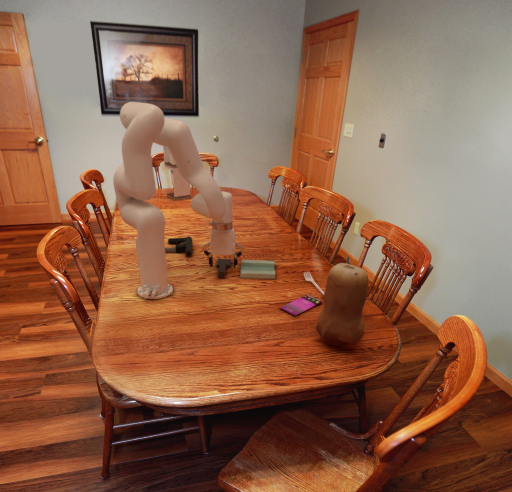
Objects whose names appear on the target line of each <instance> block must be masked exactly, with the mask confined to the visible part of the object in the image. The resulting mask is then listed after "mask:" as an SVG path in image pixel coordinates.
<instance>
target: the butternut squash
mask: <svg viewBox="0 0 512 492" xmlns="http://www.w3.org/2000/svg"><path fill="white" fill-rule="evenodd" d="M326 277H327V278H326V283H325V289H324V290H325V291H324V295H323V294H322V302H323V307H322V309H321V311H320V313H319V315H318V317H317V320H316V321H317V322H316V325H315V330H316V332H317V333H318V336H319V337H320V338H321V340H322V341H323V342H324V343H325V344H327V345H331V346H335V347H337V348H347V347H351V346H354V345H356V344H358V343H359V342H360V341H361V340H362V338H363V336H364V333H365V320H364V317H363V309H364V307H365V303H366V301H367V298H368V292H369V291H368V290H369V275H368V273H367V271H366V270H365V269H364V268H362V267H359V266H357V265H353V264H350V263H348V264H347V262H345V263H344V262H339V263H337V264H336V265H334V266H332V267H331V268H330V270H329V272H328V274H327V276H326Z"/></svg>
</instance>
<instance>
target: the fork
mask: <svg viewBox="0 0 512 492" xmlns="http://www.w3.org/2000/svg"><path fill="white" fill-rule="evenodd" d="M303 276H304V279H305V282H311V283H312V285H313V286H314V287H315V288H316V289H317V290H318V291H319V292H320V293H321V295H322V296H323V295H324V293H325V291H323V289H322V288H321V287H320V285H319V284H317V283H316V281H315V279H314V278H313V276H312V274H311V272H310V271H304V272H303Z"/></svg>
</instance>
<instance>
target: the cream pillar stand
mask: <svg viewBox="0 0 512 492" xmlns="http://www.w3.org/2000/svg"><path fill="white" fill-rule="evenodd" d="M162 149H163V161H164V169H167V170H170V179H171V182H170V183H171V185H172V187H173V192H168V193H166V197H167V198H169V199H171V200H174V201H180V200H181V201H182V200H188V199H192V197H191V196H192V195H191V184H190V183H189V182H187V181H186V180H185V179H184V178H183V177H182V176H181V174H180V173H179V170H178V168H177V166H176V163H175V161H174V159H173V156H172V154H171V152H170V150H169V148H168V147H166V146H162Z"/></svg>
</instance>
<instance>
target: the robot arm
mask: <svg viewBox="0 0 512 492" xmlns="http://www.w3.org/2000/svg"><path fill="white" fill-rule="evenodd" d="M119 119H120V122H121V125H122V126H123V127H124V129H125V132H124V134H123V137H122V141H121V156H122V162H123V164H121V165H120V166H118V167H117V168H116V169H115V170H114V174H113V182H112V183H113V184H112V185H113V189H114V193H115V199H116V202H117V206H118V211H119V215H120V217H121V220H122V221H123V222H124V223H125V225H128V226H129V227H131V228H133V229H134V230H136V239H135V249H136V255H137V264H138V270H139V277H140V286H139V287H138V288H137V295H138V296H139V297H141V298H143V299H146V300H161V299H165V298H167V297H169V296H171V295H172V294H173V292H174V288H173V286H172V285H171V284H170V283H169V280H168V279H169V277H168V267H167V256H166V255H167V254H166V253H165V248H166V246H165V231H166V217H165V215H164V213H163V211H162V210H161V209H160V208H159V207H158V206H156V205H154V204H152V203H149V202H147V201H150V200H152V199H153V198H154V197H155V195H156V191H157V186H156V179H155V173H154V165H153V158H152V147H153V144H156V145H159V146H161V147H163V146H166V147H168V148H169V150H170V152H171V154H172V156H173V159H174V161H175V163H176V166H177V168H178V170H179V173H180V174H181V176H182V177H183V178H184V179H185V180H186V181H187V182H189V183H190V186H192V187H193V188H195V190H197V192H198V193H197V194H195V195H193V197H191V201H190V207H191V209H192V211H193V212H194V213H195V214H198V215H200V216H203V217H206V218H208V219H211V220H212V221H209V222H208V226H210V227H211V229H210V234H209V242H207V243H204V244H202V245H201V246H200V247H201V248H200V249H201V250H202V252H203V254H204V255H205V256H206V257H207V259H208V265H209V267H210V268H213V267H214V266H213V265H214V260H213V259H214V258H213V256H233V269H236V268H237V266H238V265H239V264H238V259H239V258H240V257H241V256H242V255H243V253H244V251H245V250H246V249H245V247H244V245H241V244H239V243H237V242H236V233H235V232H236V231H235V228H234V227H233V194H232V193H230V192H229V191H222V189H221V187H220V186H219V184H218V182H217V181H216V179H215V178H214V177H213V175H212V174H211V173H210V172H209V170H208V169H207V168H206V166H205V165H204V163H203V161H202V160H203V159H202V158H201V155H200V152H199V149H198V147H197V144H196V142H195V139H194V137H193V134H192V132H191V129H190V128H189V126H188V124H187V123H186V122H185V121H183V120H179V119H176V118H170V117H165V114H164V112H163V110H162V109H161V108H160V107H159V106H157V105H155V104H153V103H148V102H137V101H128V102H126V103H124V104H123V105H122V106H121V108H120V111H119ZM208 248H209V251H208V250H207V249H208ZM236 249H238V250H239V251H238V252H237V251H236Z"/></svg>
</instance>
